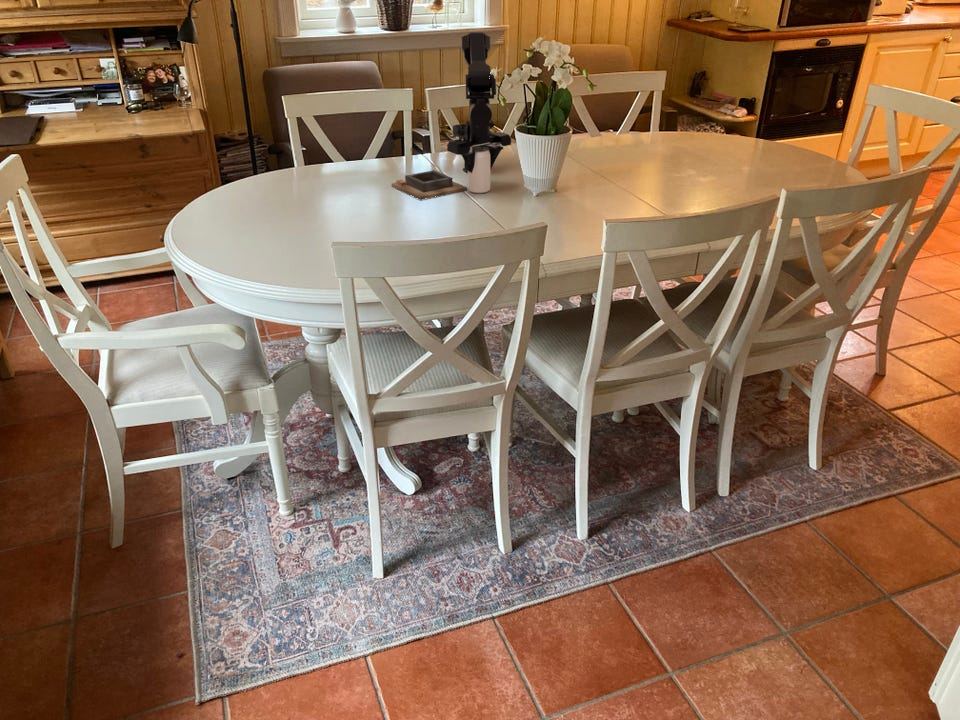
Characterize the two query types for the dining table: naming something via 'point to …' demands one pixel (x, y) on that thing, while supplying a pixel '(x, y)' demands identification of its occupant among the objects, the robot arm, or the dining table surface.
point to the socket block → (428, 185)
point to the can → (480, 171)
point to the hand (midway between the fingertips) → (479, 173)
